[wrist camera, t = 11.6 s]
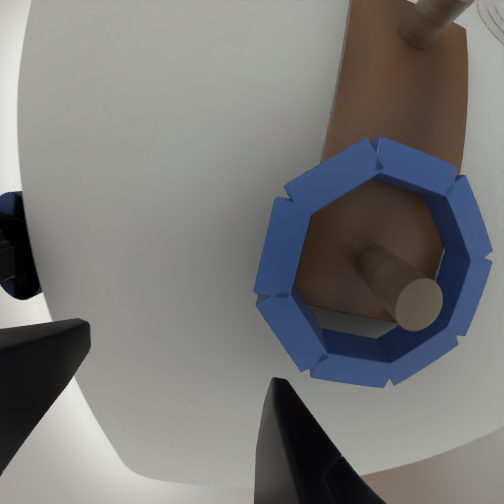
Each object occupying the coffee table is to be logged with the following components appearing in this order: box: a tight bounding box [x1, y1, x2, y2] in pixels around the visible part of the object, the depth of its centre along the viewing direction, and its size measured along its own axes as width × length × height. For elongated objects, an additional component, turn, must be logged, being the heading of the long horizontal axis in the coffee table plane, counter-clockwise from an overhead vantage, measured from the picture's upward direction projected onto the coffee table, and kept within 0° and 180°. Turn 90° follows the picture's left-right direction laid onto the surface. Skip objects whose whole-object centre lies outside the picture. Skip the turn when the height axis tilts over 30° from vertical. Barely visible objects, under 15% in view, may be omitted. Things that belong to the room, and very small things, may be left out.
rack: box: [294, 0, 474, 331], centre depth 11 cm, size 8×20×8 cm, turn 168°
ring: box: [253, 136, 492, 388], centre depth 14 cm, size 12×12×3 cm
